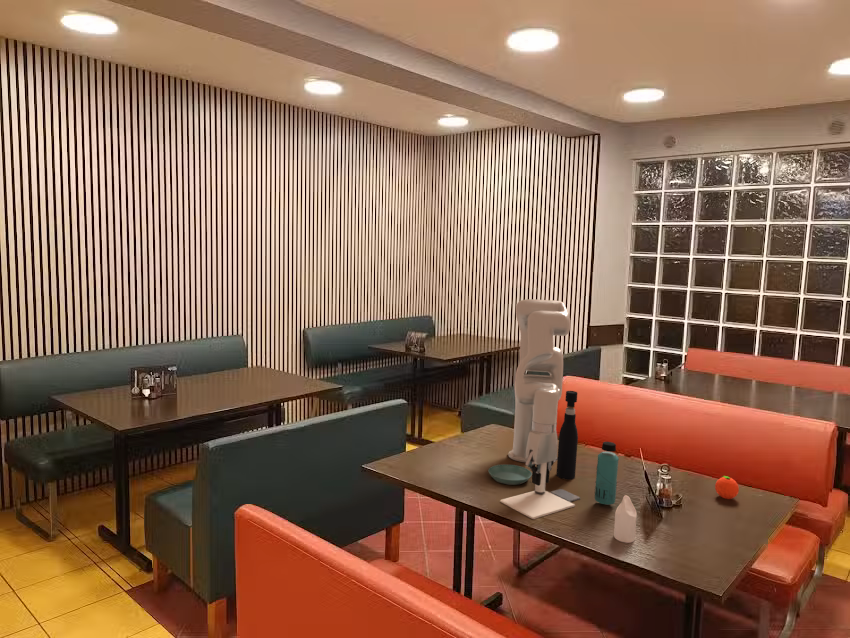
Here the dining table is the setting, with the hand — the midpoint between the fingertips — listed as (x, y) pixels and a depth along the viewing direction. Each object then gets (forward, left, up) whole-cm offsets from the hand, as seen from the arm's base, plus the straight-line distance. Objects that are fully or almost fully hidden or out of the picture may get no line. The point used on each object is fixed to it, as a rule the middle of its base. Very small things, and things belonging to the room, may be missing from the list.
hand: (540, 482), depth 194 cm
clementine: (-53, +32, -4) cm, 62 cm away
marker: (0, 0, -3) cm, 3 cm away
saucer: (-1, -15, -5) cm, 16 cm away
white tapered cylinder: (+1, +33, -4) cm, 33 cm away
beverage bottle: (-12, +16, -4) cm, 20 cm away
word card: (-7, +5, -4) cm, 9 cm away
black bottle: (-20, -7, -4) cm, 22 cm away
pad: (+6, +5, -4) cm, 9 cm away
